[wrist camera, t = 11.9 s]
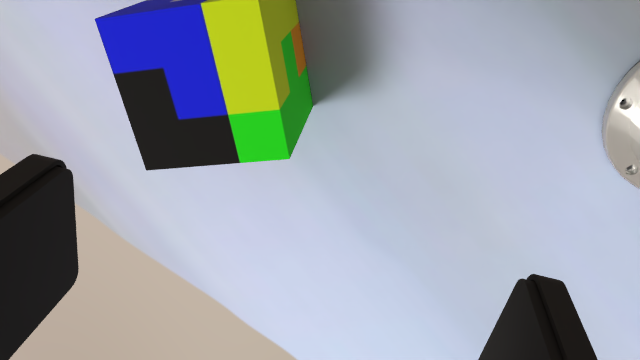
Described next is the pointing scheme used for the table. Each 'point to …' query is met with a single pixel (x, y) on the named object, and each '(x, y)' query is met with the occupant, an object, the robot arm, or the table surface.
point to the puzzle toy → (210, 79)
